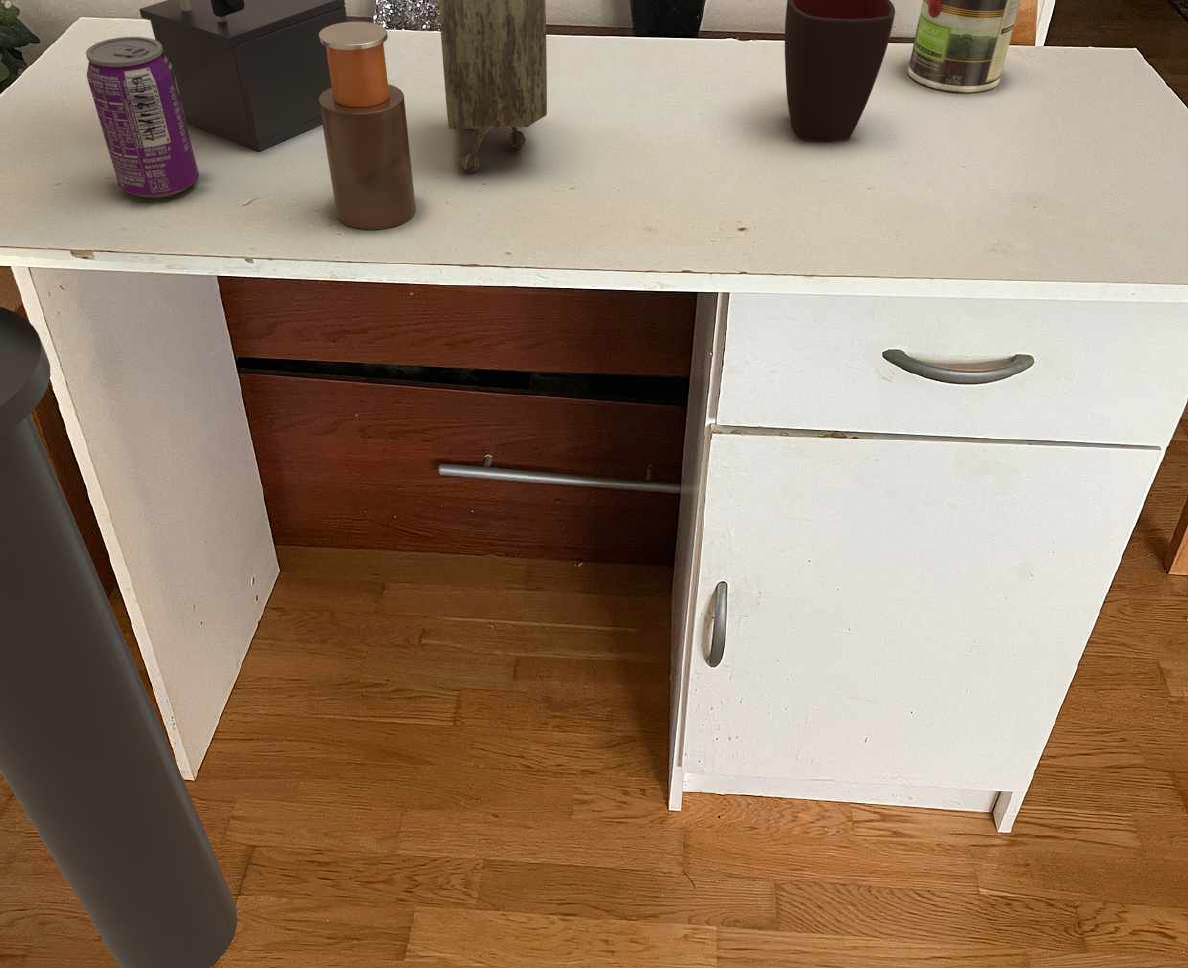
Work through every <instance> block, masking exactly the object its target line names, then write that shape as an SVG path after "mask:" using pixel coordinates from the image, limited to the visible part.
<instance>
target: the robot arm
mask: <svg viewBox="0 0 1188 968" xmlns="http://www.w3.org/2000/svg"><path fill="white" fill-rule="evenodd" d="M211 4H212V9H213V13H214V15H215V16H218V17H224V16H227V15H229V14H232V13H235V12H238V11H241V10H243V9H244V6H245V5H244V0H211Z"/></svg>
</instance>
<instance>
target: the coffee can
mask: <svg viewBox="0 0 1188 968" xmlns="http://www.w3.org/2000/svg"><path fill="white" fill-rule="evenodd" d="M1021 1H1022V0H922V3H921V7H920V12H919V16H918V22H917V27H916V30H915V37H914V41H913V45H912V50H911V54H910V59H909V64H908V66H907V75H908V76H909V77H910V78H911V79H912V80H914V81H915V82H917V83H919V84H920V85H923V86H925V87H928V88H931V89H935V90H940V91H945V92H951V93H965V94H967V93H968V94H969V93H980V92H985V91H989V90H992V89H994V88H996V87H997V86H998V85H999V84H1000V82H1001V79H1002V77H1001V76H1002V72H1003V70H1004V69H1003V68H1004V65H1005V62H1006V57H1007V53H1008V50H1009V47H1010V43H1011V39H1012V35H1013V31H1014V27H1015V24H1016V19H1017V17H1018V13H1019V8H1020V5H1021Z"/></svg>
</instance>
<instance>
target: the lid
mask: <svg viewBox="0 0 1188 968" xmlns="http://www.w3.org/2000/svg"><path fill="white" fill-rule="evenodd" d="M244 5H245V6H244V9H243V10H241V11H238V12H235V13H232V14H229V15H227V16H224V17H218V16H215V15H214V13H213V9H212V4H211V0H164V1H160V2H157V3H153V4H151V5H148V6H144V7H141V8H139V10H138V11H139V14H140V18H141V19H144V20H147V21H150V22H151V21H153V22H156V23H159V24H162V25H165V26H168V27H171V28H174V29H177V30H180V31H183V32H186V33H190V34H193V35H196V36H199V37H202V38H205V39H208V40H211V41H214V42H217V43H220V44H223V45H226V46H229V47H232V46H234V45H237V44H240V43H243V42H245V41H248V40H251V39H254V38H257V37H259V36H262V35H265V34H268V33H270V32H273V31H276V30H279V29H282V28H284V27H287V26H290V25H293V24H295V23H298V22H301V21H304V20H306V19H309V18H312V17H315V16H318V15H320V14H323V13H326V12H329V11H331V10H334V9H337V8H340V7H343V6H345V7H346V1H345V0H244Z"/></svg>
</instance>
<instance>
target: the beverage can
mask: <svg viewBox="0 0 1188 968" xmlns="http://www.w3.org/2000/svg"><path fill="white" fill-rule="evenodd" d="M85 55H86V59H87V61H88V65H87V70H86V79H87V83H88V86H89V90H90V94H91V97H92V100H93V103H94V107H95V110H96V113H97V117H98V121H99V123H100V127H101V129H102V133H103V137H104V140H105V143H106V147H107V150H108V154H109V157H110V160H111V165H112V168H113V172H114V174H115V178H116V180H117V184H118V187H119V188H120V189H121V190H122V191H124V192H126V193H128V194H131V195H135V196H139V197H141V198H146V199H163V198H169V197H173V196H176V195H178V194H181V193H183V192H184V191H185V190H187V189H188V188H190V187H191V186H192V185H194V184H195V183H196V182H197V180H199V177H200V173H199V168H198V165H197V160H196V156H195V151H194V148H193V143H192V140H191V135H190V132H189V128H188V124H187V123H186V119H185V115H184V111H183V107H182V103H181V98H180V94H179V90H178V86H177V82H176V78H175V74H174V70H173V67H172V65H171V63H170V62H169V60H168V59H167V58H166V56H165V55H164V54H163V49H162V45H161V43H160V42H158V41H156V40H155V38H150V37H146V36H145V37H144V36H122V37H121V36H120V37H114V38H109V39H104V40H102V41H99V42H97V43H94V44H92V45H91V46H89V47H88V48H87V49H86V50H85Z"/></svg>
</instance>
